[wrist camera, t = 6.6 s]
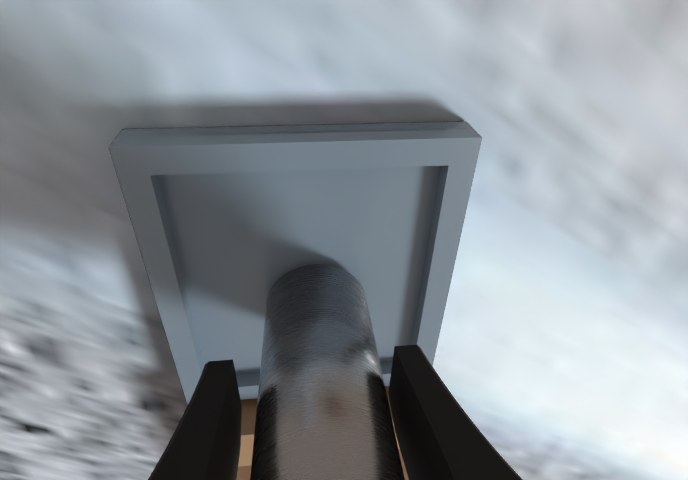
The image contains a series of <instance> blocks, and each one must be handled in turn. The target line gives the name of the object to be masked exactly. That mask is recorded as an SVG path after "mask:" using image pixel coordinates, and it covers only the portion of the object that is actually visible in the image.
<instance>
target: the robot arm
mask: <svg viewBox="0 0 688 480" xmlns="http://www.w3.org/2000/svg"><path fill="white" fill-rule="evenodd" d="M388 395H389V401H390V406H391V412H392V418H393V423H394V429H395V433H396V437H397V440H398V444H399V447H400V451H401V454H402V458H403V461H404V465H405V468H406V472H407V475H408V478H409V480H522V479H521V477H520V476H519V475H518V474H517V473H516V472H515V471H514V470H513V469H512V468H511V467H510V466H509V465H508V463H507V462H506V461H505V460H504V459H503V458H502V457H501V456H500V454H499V453H498V452H497V451H496V450H495V449H494V447H493V446H492V445H491V444H490V443H489V442H488V440H487V439H486V438H485V437H484V436H483V434H482V433H481V432H480V431H479V429H478V428H477V427H476V426H475V424H474V423H473V422H472V421H471V419H470V418H469V417H468V415H467V414H466V413H465V412H464V410H463V409H462V408H461V406H460V405H459V404H458V402H457V401H456V400H455V398H454V397H453V396H452V394H451V393H450V391H449V390H448V389H447V387H446V386H445V384H444V383H443V381H442V380H441V379H440V377H439V376H438V374H437V373H436V371H435V370H434V368H433V367H432V365H431V364H430V362H429V361H428V359H427V357H426V356H425V354H424V353H423V351H422V349H421V348H420V347H419V346H418V345H417V344H416V345H404V346H395V347H394V354H393V362H392V369H391V377H390V384H389V391H388ZM241 422H242V405H241V399H240V394H239V389H238V383H237V378H236V373H235V367H234V362H233V359H232V360H220V361H209V362H207V363H206V364H205V366H204V368H203V371H202V374H201V376H200V379H199V381H198V384H197V386H196V388H195V391H194V393H193V395H192V397H191V400H190V402H189V404H188V406H187V408H186V410H185V412H184V415H183V417H182V418H181V420H180V422H179V424H178V426H177V428H176V430H175V432H174V434H173V436H172V438H171V440H170V442H169V444H168V446H167V448H166V449H165V451H164V453H163V455H162V456H161V458H160V460H159V462H158V463H157V465H156V467H155V469H154V470H153V472H152V474H151V476H150V477H149V479H148V480H236V479H237V471H238V463H239V456H240V448H241Z"/></svg>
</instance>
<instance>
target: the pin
mask: <svg viewBox="0 0 688 480" xmlns="http://www.w3.org/2000/svg"><path fill="white" fill-rule="evenodd" d="M250 480H405V478H404V473H403V468H402V464H401V459H400V454H399V450H398V445H397V440H396V436H395V431H394V426H393V421H392V417H391V412H390V407H389V403H388V398H387V393H386V389H385V384H384V379H383V374H382V370H381V365H380V360H379V356H378V351H377V346H376V342H375V337H374V332H373V327H372V323H371V318H370V313H369V309H368V304H367V299H366V295H365V291H364V289H363V287H362V285H361V284H360V282H359V281H358V280H357V279H356V278H355V277H354V276H353V275H351V274H350V273H349V272H347V271H345V270H343V269H341V268H338V267H334V266H330V265H322V264H315V265H307V266H302V267H299V268H296V269H294V270H291V271H289V272H288V273H286V274H284V275H283V276H282V277H280V278H279V279H278V280H277V281H276V282H275V283H274V285H273V286H272V287H271V289H270V291H269V293H268V296H267V301H266V311H265V322H264V333H263V344H262V355H261V366H260V377H259V388H258V399H257V410H256V421H255V432H254V443H253V454H252V465H251V476H250Z"/></svg>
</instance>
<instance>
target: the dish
mask: <svg viewBox="0 0 688 480" xmlns="http://www.w3.org/2000/svg"><path fill="white" fill-rule="evenodd" d="M481 140H482V137H481V136H480V135H479V134H478V133H477V132H476V131H475V130H474V129H473V128H472V127H471V126H470V125H469V124H468V123H467V122H423V123H378V124H333V125H288V126H243V127H198V128H152V129H122V130H121V132H120V133H119V134H118V136H117V137H116V138H115V140H114V141H113V142H112V144H111V145H110V146H109V150H110V154H111V157H112V160H113V163H114V167H115V170H116V173H117V176H118V180H119V183H120V186H121V190H122V193H123V196H124V199H125V203H126V206H127V209H128V212H129V216H130V219H131V222H132V225H133V229H134V232H135V235H136V238H137V242H138V245H139V248H140V251H141V255H142V258H143V261H144V264H145V268H146V271H147V274H148V277H149V281H150V284H151V287H152V291H153V294H154V297H155V300H156V304H157V307H158V310H159V313H160V317H161V320H162V323H163V326H164V330H165V333H166V336H167V339H168V343H169V346H170V349H171V352H172V356H173V359H174V362H175V365H176V369H177V372H178V375H179V378H180V382H181V385H182V388H183V392H184V395H185V398H186V401H187V405H188V404H189V402H190V400H191V397H192V395H193V393H194V391H195V388H196V386H197V384H198V381H199V379H200V376H201V374H202V371H203V368H204V366H205V364H206V363H207V362H209V361H220V360H232V359H233V362H234V367H235V373H236V378H237V383H238V389H239V394H240V399H241V400H244V399H255V398H258V388H259V377H260V366H261V355H262V344H263V333H264V322H265V311H266V301H267V296H268V293H269V291H270V289H271V287H272V286H273V285H274V283H275V282H276V281H277V280H278V279H279V278H280V277H282V276H283V275H284V274H286V273H288V272H289V271H291V270H294V269H296V268H299V267H302V266H307V265H315V264H322V265H330V266H334V267H338V268H341V269H343V270H345V271H347V272H349V273H350V274H351V275H353V276H354V277H355V278H356V279H357V280H358V281H359V282H360V284H361V285H362V287H363V289H364V291H365V295H366V299H367V304H368V309H369V313H370V318H371V323H372V327H373V332H374V337H375V342H376V346H377V351H378V356H379V360H380V365H381V370H382V374H383V379H384V384H385V386H389V384H390V377H391V369H392V362H393V354H394V347H395V346H404V345H416V344H417V345H418V346H419V347H420V348H421V349H422V351H423V353H424V354H425V356H426V357H427V359H428V361H429V362H430V364H431V365H433V361H434V356H435V352H436V347H437V342H438V338H439V333H440V329H441V324H442V319H443V315H444V310H445V306H446V301H447V296H448V292H449V287H450V283H451V278H452V273H453V269H454V264H455V260H456V255H457V250H458V246H459V241H460V237H461V232H462V227H463V223H464V218H465V214H466V209H467V204H468V200H469V195H470V191H471V186H472V181H473V177H474V172H475V168H476V163H477V158H478V154H479V149H480V145H481Z"/></svg>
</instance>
